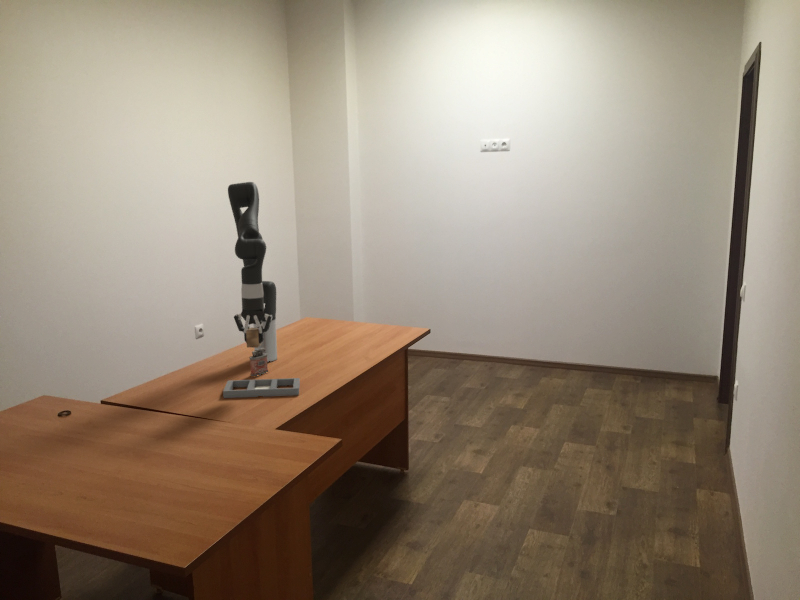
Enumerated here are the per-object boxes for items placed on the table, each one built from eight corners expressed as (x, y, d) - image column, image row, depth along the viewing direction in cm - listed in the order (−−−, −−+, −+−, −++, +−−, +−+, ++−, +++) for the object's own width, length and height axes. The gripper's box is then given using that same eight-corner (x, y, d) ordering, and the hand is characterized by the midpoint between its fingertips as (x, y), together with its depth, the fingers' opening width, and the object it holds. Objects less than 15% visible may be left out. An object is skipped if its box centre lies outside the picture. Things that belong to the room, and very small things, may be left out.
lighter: (254, 377, 245) (253, 352, 243) (248, 375, 247) (247, 350, 245) (270, 372, 252) (269, 347, 250) (264, 370, 254) (263, 346, 252)
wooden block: (246, 347, 226) (246, 330, 225) (250, 343, 231) (250, 327, 230) (258, 347, 226) (257, 331, 225) (261, 343, 231) (261, 327, 230)
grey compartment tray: (228, 387, 235) (227, 380, 234) (299, 384, 238) (299, 377, 237) (223, 398, 223) (223, 391, 223) (298, 395, 226) (298, 388, 226)
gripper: (229, 297, 222) (231, 345, 225) (269, 297, 221) (271, 345, 224) (235, 293, 229) (237, 339, 232) (275, 293, 229) (276, 340, 232)
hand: (254, 342), depth 228 cm, fingers closed on wooden block, 4 cm apart
